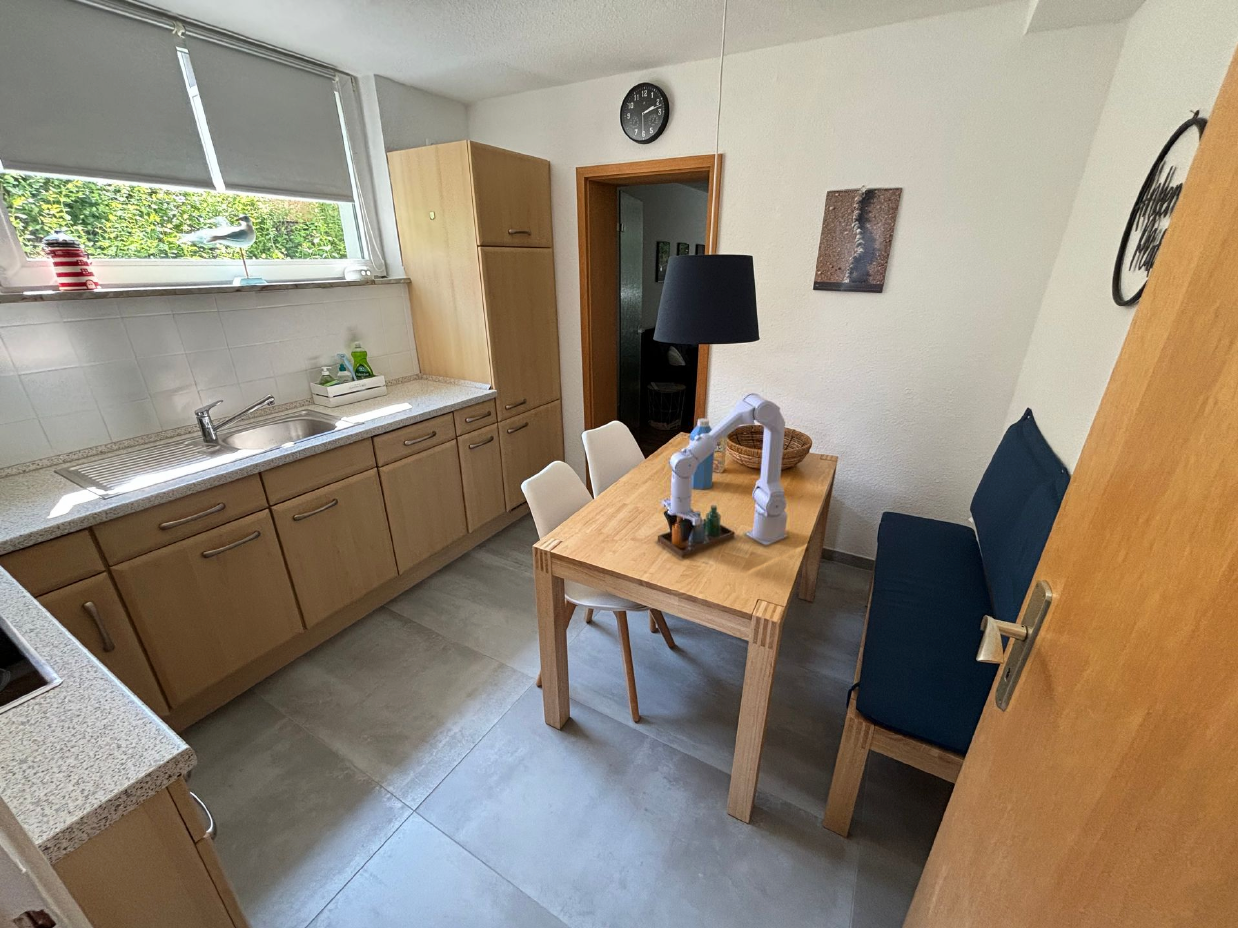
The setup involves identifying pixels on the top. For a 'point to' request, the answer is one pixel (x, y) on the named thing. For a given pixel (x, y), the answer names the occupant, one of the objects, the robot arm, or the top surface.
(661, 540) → the tray
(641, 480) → the top surface
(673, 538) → the amber bottle
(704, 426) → the water bottle
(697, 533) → the blue-grey bottle
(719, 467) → the candy box
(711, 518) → the green bottle
